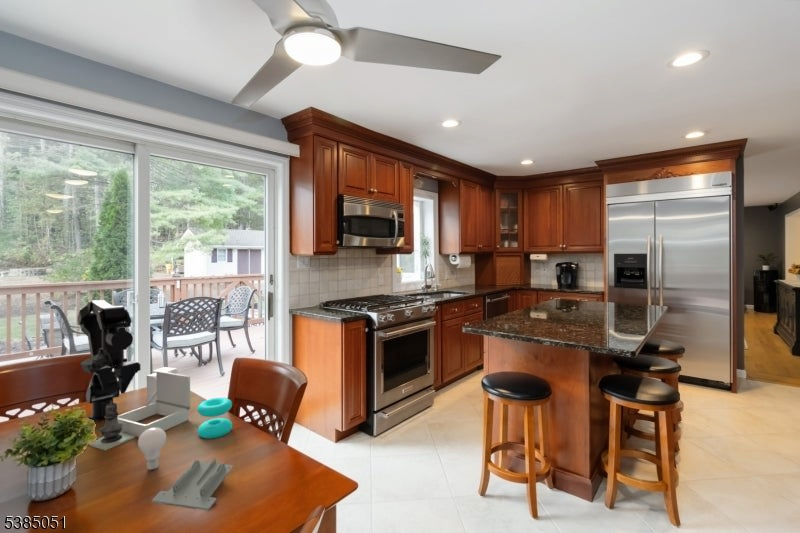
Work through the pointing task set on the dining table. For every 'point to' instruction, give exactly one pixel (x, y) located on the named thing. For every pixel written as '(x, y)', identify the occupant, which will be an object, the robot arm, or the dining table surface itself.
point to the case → (161, 405)
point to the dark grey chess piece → (111, 424)
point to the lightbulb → (152, 445)
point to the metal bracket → (195, 486)
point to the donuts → (216, 425)
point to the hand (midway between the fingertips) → (113, 391)
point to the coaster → (109, 445)
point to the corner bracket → (153, 382)
